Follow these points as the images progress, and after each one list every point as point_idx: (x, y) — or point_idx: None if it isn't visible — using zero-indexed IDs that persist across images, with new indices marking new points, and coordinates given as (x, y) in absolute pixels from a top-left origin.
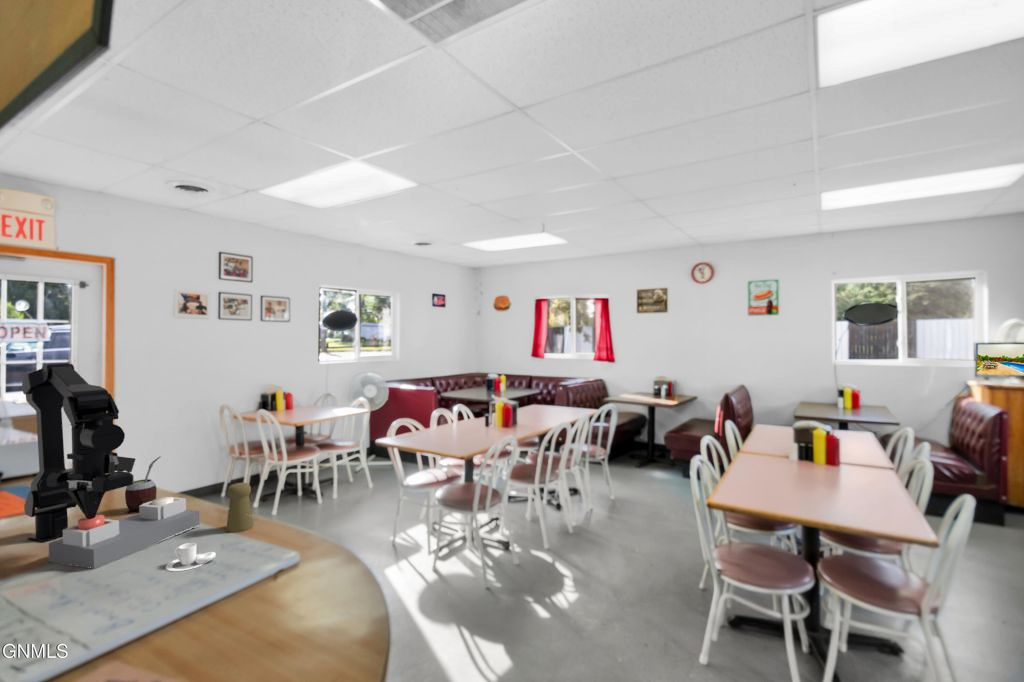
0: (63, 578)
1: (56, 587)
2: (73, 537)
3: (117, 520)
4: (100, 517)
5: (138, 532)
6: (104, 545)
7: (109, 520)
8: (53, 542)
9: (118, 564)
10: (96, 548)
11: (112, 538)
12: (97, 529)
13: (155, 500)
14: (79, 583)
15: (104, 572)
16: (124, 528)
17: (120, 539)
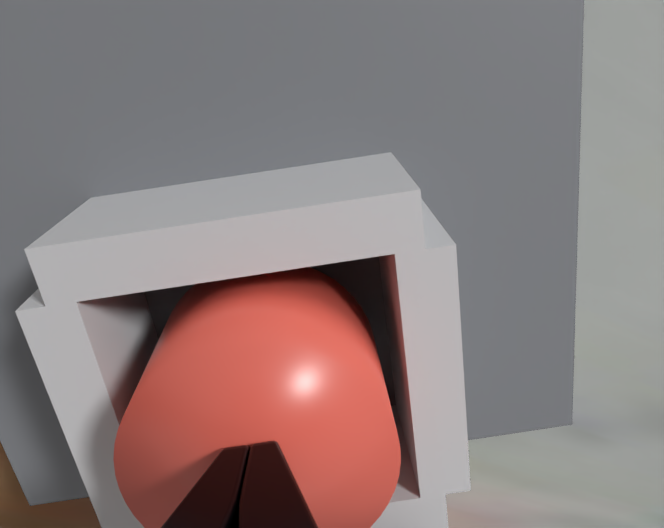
0: (473, 461)
1: (558, 510)
2: None
3: (400, 198)
4: (348, 407)
5: (560, 34)
6: (570, 354)
7: (283, 241)
8: (57, 488)
9: (601, 246)
10: (571, 407)
11: (461, 246)
12: (463, 419)
13: None
14: (631, 450)
15: (631, 339)
16: (250, 27)
17: (570, 228)
